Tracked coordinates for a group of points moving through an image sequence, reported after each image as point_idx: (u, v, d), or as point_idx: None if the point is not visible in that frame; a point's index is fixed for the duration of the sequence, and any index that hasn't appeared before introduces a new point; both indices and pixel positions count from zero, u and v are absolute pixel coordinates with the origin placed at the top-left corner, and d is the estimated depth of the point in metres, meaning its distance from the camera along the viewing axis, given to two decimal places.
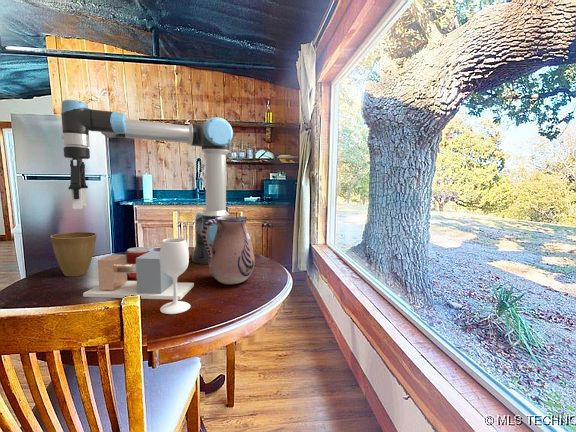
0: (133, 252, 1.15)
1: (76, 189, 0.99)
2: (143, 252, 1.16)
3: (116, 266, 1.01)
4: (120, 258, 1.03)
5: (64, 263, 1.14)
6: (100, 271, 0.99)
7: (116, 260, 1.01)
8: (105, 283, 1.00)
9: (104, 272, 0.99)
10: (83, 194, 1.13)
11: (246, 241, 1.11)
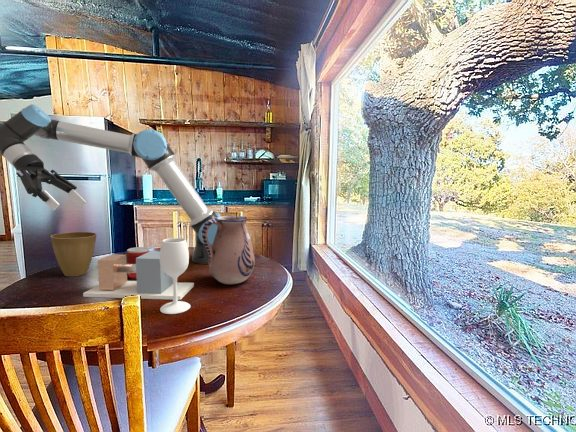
0: (133, 252, 1.15)
1: (37, 192, 0.96)
2: (143, 252, 1.16)
3: (116, 266, 1.01)
4: (120, 258, 1.03)
5: (64, 263, 1.14)
6: (100, 271, 0.99)
7: (116, 260, 1.01)
8: (105, 283, 1.00)
9: (104, 272, 0.99)
10: (75, 195, 1.11)
11: (246, 241, 1.11)
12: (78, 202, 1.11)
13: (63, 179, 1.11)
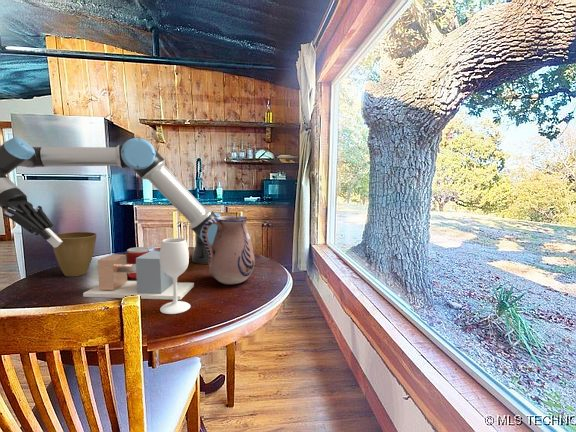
0: (133, 252, 1.15)
1: (39, 231, 1.00)
2: (143, 252, 1.16)
3: (116, 266, 1.01)
4: (120, 258, 1.03)
5: (64, 263, 1.14)
6: (100, 271, 0.99)
7: (116, 260, 1.01)
8: (105, 283, 1.00)
9: (104, 272, 0.99)
10: None
11: (246, 241, 1.11)
12: None
13: (43, 215, 1.05)
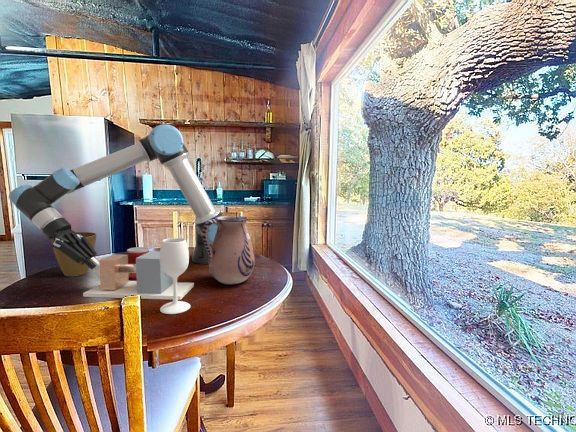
0: (133, 252, 1.15)
1: (85, 261, 1.00)
2: (143, 252, 1.16)
3: (118, 266, 1.01)
4: (121, 258, 1.03)
5: (64, 263, 1.14)
6: (102, 271, 0.99)
7: (118, 260, 1.01)
8: (107, 283, 1.00)
9: (106, 272, 0.99)
10: None
11: (246, 241, 1.11)
12: None
13: (87, 243, 1.06)
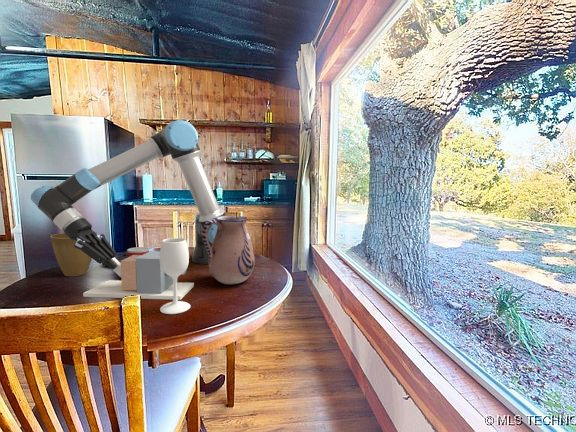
0: (133, 252, 1.15)
1: (106, 261, 1.00)
2: (143, 252, 1.16)
3: None
4: None
5: (64, 263, 1.14)
6: (123, 272, 0.99)
7: None
8: (128, 283, 0.99)
9: (127, 272, 0.99)
10: None
11: (246, 241, 1.11)
12: None
13: (107, 244, 1.06)
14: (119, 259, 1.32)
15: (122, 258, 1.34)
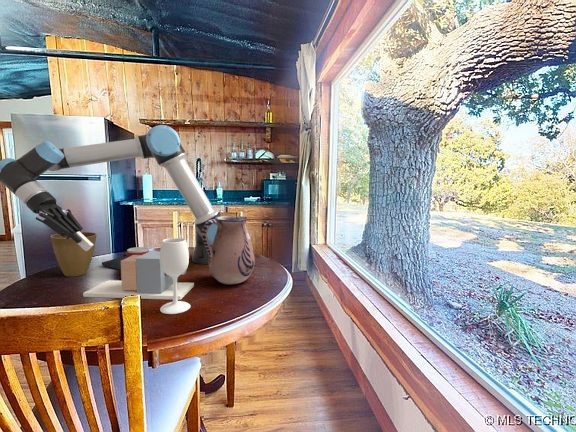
0: (133, 252, 1.15)
1: (70, 235, 0.99)
2: (143, 252, 1.16)
3: None
4: None
5: (64, 263, 1.14)
6: (123, 272, 0.99)
7: None
8: (128, 283, 0.99)
9: (127, 272, 0.99)
10: None
11: (246, 241, 1.11)
12: None
13: (72, 218, 1.05)
14: (119, 259, 1.32)
15: (122, 258, 1.34)
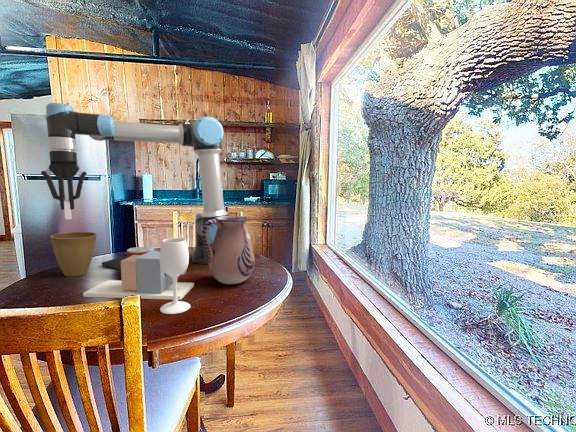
0: (133, 252, 1.15)
1: (59, 200, 1.04)
2: (143, 252, 1.16)
3: None
4: None
5: (64, 263, 1.14)
6: (123, 272, 0.99)
7: None
8: (128, 283, 0.99)
9: (127, 272, 0.99)
10: None
11: (246, 241, 1.11)
12: None
13: (78, 184, 1.05)
14: (119, 259, 1.32)
15: (122, 258, 1.33)
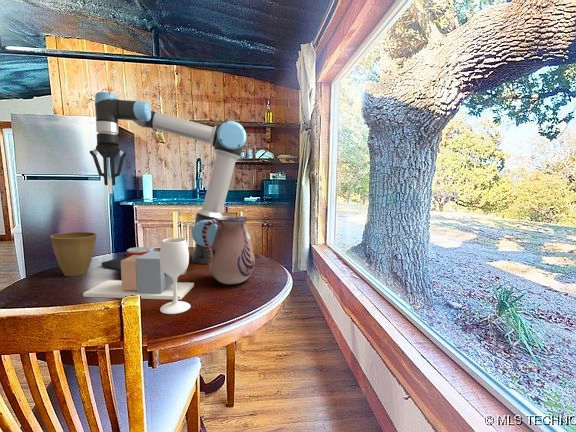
0: (133, 252, 1.15)
1: None
2: (143, 252, 1.16)
3: None
4: None
5: (64, 263, 1.14)
6: (123, 272, 0.99)
7: None
8: (128, 283, 0.99)
9: (127, 272, 0.99)
10: None
11: (246, 241, 1.11)
12: None
13: (119, 163, 1.21)
14: (119, 259, 1.32)
15: (122, 258, 1.33)
